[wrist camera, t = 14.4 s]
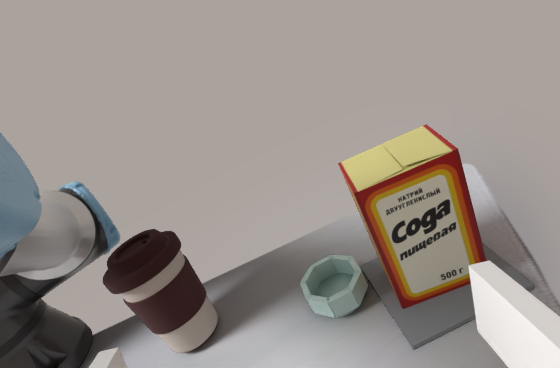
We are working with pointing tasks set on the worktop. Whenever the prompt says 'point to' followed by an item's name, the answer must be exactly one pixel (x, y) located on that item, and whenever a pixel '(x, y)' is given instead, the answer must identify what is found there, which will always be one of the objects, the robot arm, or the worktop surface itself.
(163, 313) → the coffee cup
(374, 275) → the mat
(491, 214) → the worktop surface
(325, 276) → the bowl
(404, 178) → the baking soda box
